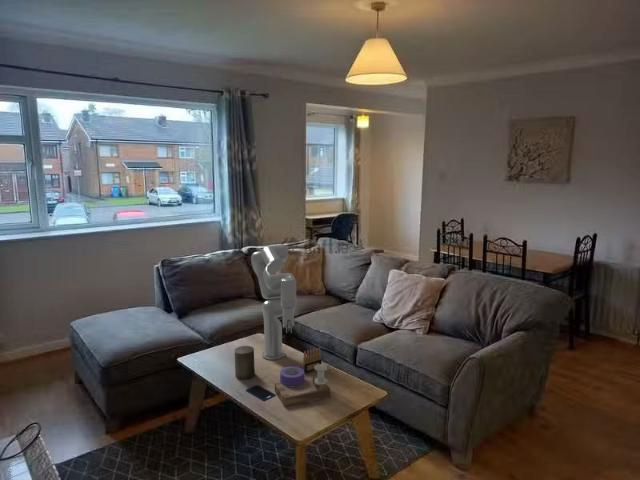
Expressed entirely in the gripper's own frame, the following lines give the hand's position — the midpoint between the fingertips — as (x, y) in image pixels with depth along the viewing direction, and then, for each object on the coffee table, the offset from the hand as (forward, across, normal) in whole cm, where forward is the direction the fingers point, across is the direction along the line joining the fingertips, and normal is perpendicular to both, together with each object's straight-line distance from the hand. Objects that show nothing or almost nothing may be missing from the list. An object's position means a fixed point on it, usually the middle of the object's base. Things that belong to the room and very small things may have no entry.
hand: (288, 336), depth 227 cm
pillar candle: (+22, -3, -22) cm, 31 cm away
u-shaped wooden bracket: (+21, +18, +5) cm, 28 cm away
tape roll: (+21, +6, +2) cm, 22 cm away
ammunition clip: (+21, -4, +12) cm, 25 cm away
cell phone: (+21, +16, -14) cm, 30 cm away
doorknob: (+17, +16, +14) cm, 27 cm away
